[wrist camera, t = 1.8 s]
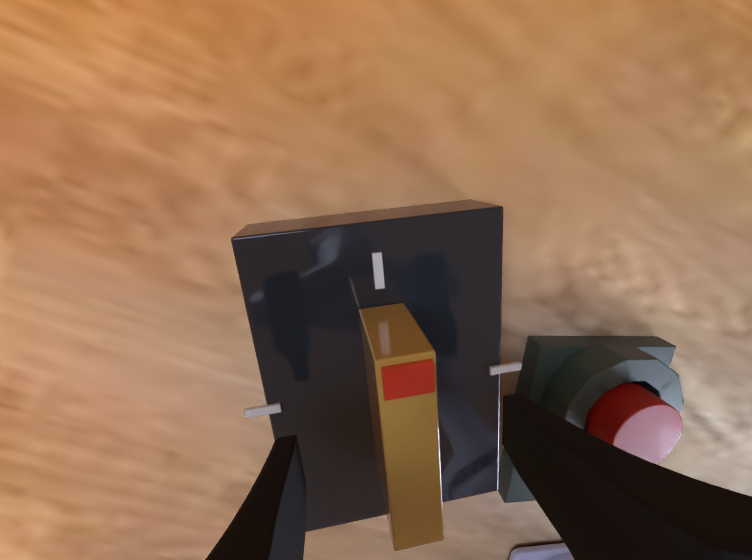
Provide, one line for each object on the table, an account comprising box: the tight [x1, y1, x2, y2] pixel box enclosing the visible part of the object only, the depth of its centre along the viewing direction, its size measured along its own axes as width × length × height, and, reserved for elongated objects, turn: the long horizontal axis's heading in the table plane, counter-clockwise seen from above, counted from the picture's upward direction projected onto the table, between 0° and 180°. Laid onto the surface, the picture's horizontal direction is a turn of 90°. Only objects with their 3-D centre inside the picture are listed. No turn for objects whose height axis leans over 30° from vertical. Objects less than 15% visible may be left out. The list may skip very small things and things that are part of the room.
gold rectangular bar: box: [359, 303, 444, 551], centre depth 13 cm, size 8×2×4 cm, turn 5°
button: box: [586, 383, 682, 464], centre depth 17 cm, size 4×4×2 cm
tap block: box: [231, 199, 521, 532], centre depth 17 cm, size 14×12×3 cm
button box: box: [498, 336, 684, 503], centre depth 20 cm, size 10×8×3 cm
